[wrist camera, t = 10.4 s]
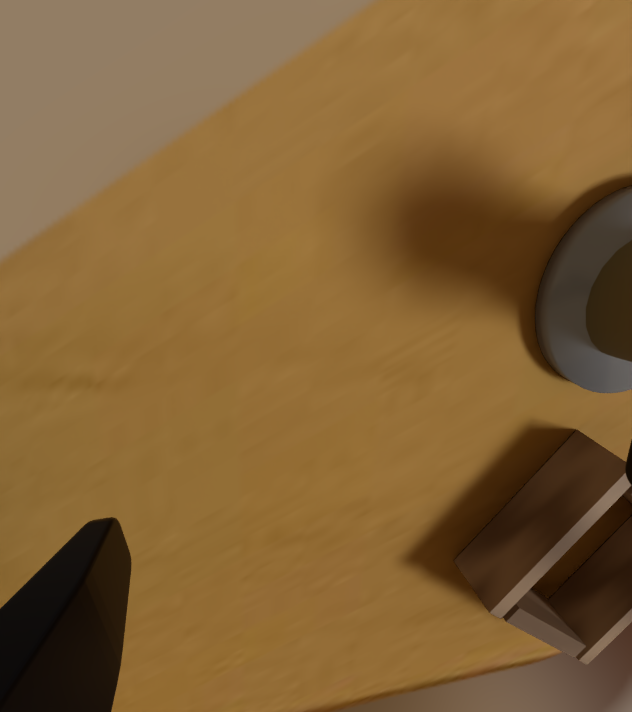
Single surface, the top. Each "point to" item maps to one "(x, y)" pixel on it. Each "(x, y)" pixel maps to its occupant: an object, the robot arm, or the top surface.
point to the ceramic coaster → (583, 296)
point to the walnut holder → (558, 553)
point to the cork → (612, 306)
